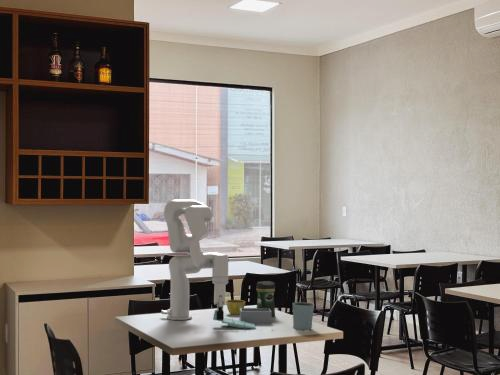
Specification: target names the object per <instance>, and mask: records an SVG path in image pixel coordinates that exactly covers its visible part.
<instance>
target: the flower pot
mask: <svg viewBox="0 0 500 375" xmlns="http://www.w3.org/2000/svg"><path fill="white" fill-rule="evenodd" d="M225 304H226V308H227V311H228V312H229V314H230V315H231V316H232V315H233V316H235V315H236V316H238V315H239V316H240V308H245V306H246V301H245V300H243V299H228V300H225Z"/></svg>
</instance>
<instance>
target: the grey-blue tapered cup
mask: <svg viewBox="0 0 500 375" xmlns="http://www.w3.org/2000/svg"><path fill="white" fill-rule="evenodd" d="M314 310H315V304H314V303H311V302H305V301H303V302H301V301H300V302H298V301H297V302H292V320H293V322H292V323H293V327H292V329H295V330H302V331H303V332H304V331H305V330H309V331H311V330H312V329H313V328H312V327H313V326H312V325H313V317H314ZM302 331H301V332H302ZM305 332H306V331H305Z"/></svg>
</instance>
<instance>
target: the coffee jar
mask: <svg viewBox="0 0 500 375" xmlns="http://www.w3.org/2000/svg"><path fill="white" fill-rule="evenodd" d="M275 284H276V283H275V281H271V280H264V281H257V283H256V287H255V288H256V289H255V290H256V292H257V298H256V300H257V301H256V308H270V310H271V311H272V318H274V317H275V316H276V308H275V291H276V285H275Z"/></svg>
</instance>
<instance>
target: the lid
mask: <svg viewBox="0 0 500 375" xmlns="http://www.w3.org/2000/svg"><path fill="white" fill-rule="evenodd" d="M218 311H219V310H218ZM212 320H213V321H219V322H221V323H222V324H227V326H229V327H234V328H239V329H252V330H256V329H257V327H256V324H254V323H249V322H244V321H240V320H238V319H234V318H227V317H224V319H223V320H217V309H214V312H213V317H212Z"/></svg>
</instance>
